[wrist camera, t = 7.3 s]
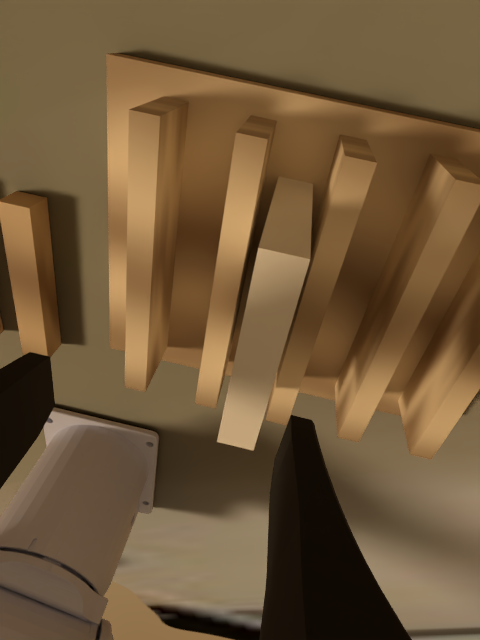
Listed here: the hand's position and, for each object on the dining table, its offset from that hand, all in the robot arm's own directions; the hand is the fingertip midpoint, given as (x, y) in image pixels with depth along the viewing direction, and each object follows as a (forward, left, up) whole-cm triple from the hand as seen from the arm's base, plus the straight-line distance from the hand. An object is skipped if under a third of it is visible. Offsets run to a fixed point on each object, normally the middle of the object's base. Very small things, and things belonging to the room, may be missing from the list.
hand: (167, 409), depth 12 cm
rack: (+1, -4, -10) cm, 11 cm away
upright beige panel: (+1, -2, -9) cm, 9 cm away
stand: (-3, +11, -10) cm, 15 cm away
